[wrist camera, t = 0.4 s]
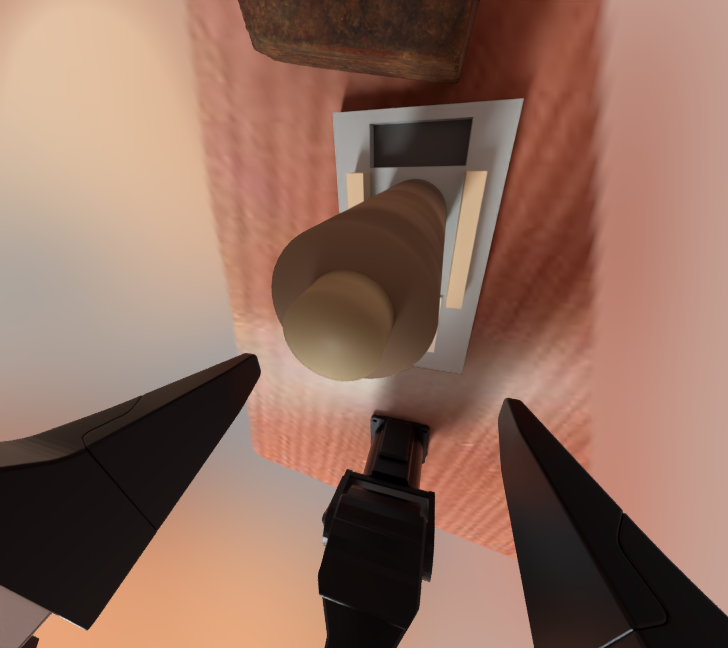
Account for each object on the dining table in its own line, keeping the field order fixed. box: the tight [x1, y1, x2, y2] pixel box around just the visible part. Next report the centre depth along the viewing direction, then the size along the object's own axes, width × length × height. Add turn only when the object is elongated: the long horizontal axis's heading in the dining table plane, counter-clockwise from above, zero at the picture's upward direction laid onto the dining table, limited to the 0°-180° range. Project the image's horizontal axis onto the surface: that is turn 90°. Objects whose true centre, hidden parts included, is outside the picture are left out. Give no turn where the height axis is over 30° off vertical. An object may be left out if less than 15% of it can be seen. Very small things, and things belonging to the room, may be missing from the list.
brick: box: [238, 0, 479, 84], centre depth 12 cm, size 11×4×5 cm, turn 82°
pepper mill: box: [272, 179, 447, 381], centre depth 11 cm, size 4×4×14 cm
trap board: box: [333, 98, 524, 374], centre depth 19 cm, size 18×10×3 cm, turn 1°
